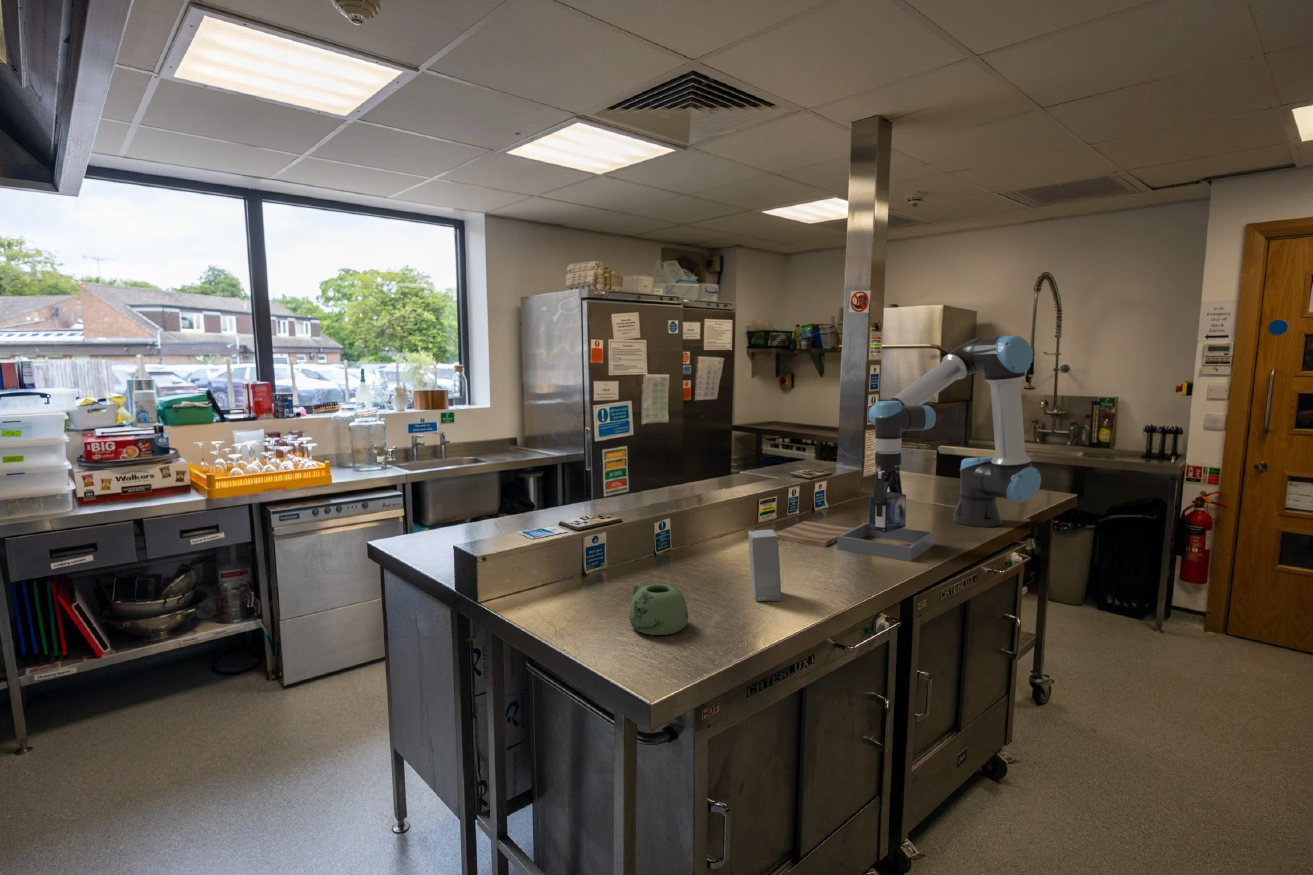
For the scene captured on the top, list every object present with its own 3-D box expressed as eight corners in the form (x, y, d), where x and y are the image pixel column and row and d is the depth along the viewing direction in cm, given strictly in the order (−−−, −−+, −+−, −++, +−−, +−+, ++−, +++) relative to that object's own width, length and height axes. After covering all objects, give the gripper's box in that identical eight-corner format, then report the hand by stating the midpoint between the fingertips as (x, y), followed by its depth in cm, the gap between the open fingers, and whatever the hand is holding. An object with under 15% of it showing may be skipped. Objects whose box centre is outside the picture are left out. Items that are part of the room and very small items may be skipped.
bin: (865, 534, 215) (865, 522, 215) (934, 544, 201) (934, 532, 201) (837, 549, 198) (837, 536, 198) (910, 561, 185) (910, 547, 184)
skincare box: (782, 601, 155) (782, 536, 153) (751, 602, 155) (751, 537, 153) (776, 589, 163) (776, 528, 161) (747, 590, 163) (747, 528, 162)
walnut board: (804, 525, 229) (804, 521, 229) (853, 532, 218) (853, 528, 218) (773, 538, 212) (773, 533, 212) (824, 547, 201) (824, 542, 201)
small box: (886, 533, 194) (886, 498, 193) (867, 529, 199) (867, 495, 198) (907, 527, 200) (907, 493, 199) (888, 523, 205) (888, 490, 204)
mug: (701, 628, 140) (700, 589, 139) (652, 644, 132) (651, 603, 131) (657, 607, 152) (656, 571, 152) (610, 620, 145) (609, 583, 144)
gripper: (889, 446, 208) (889, 513, 211) (860, 456, 190) (860, 529, 193) (913, 448, 204) (912, 516, 206) (886, 457, 185) (885, 532, 188)
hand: (887, 522), depth 199 cm, fingers closed on small box, 11 cm apart
